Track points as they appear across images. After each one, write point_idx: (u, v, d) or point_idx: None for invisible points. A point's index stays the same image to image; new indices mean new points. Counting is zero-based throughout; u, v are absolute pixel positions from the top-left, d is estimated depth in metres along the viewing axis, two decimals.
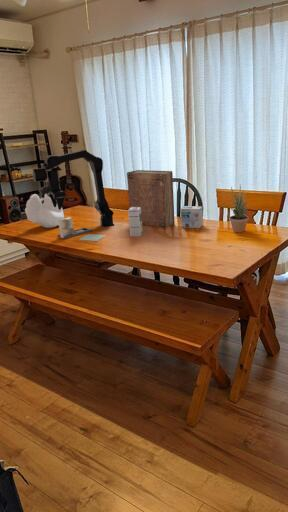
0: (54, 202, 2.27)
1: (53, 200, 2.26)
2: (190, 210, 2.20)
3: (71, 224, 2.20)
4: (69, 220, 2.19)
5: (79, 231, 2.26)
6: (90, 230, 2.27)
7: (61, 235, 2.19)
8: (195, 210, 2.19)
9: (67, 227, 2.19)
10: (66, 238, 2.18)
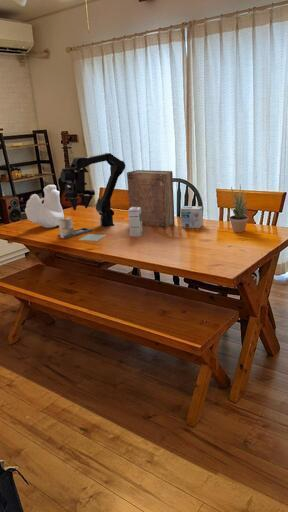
0: (85, 203, 2.30)
1: (85, 201, 2.30)
2: (190, 210, 2.20)
3: (71, 224, 2.20)
4: (69, 220, 2.19)
5: (79, 231, 2.26)
6: (90, 230, 2.27)
7: (61, 235, 2.19)
8: (195, 210, 2.19)
9: (67, 227, 2.19)
10: (66, 238, 2.18)
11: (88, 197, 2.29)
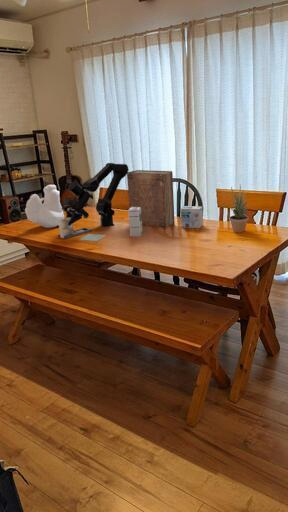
0: None
1: None
2: (190, 210, 2.20)
3: (71, 224, 2.20)
4: (69, 220, 2.19)
5: (79, 231, 2.26)
6: (90, 230, 2.27)
7: (61, 235, 2.19)
8: (195, 210, 2.19)
9: (67, 227, 2.19)
10: (66, 238, 2.18)
11: None
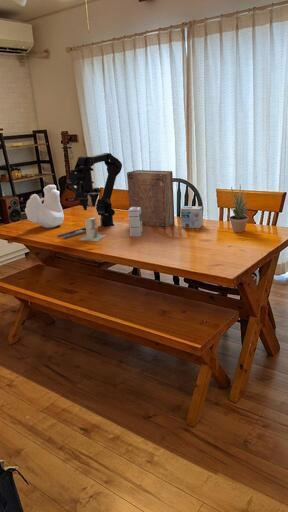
0: (93, 202, 2.29)
1: (92, 200, 2.29)
2: (190, 210, 2.20)
3: (96, 224, 2.16)
4: (94, 220, 2.14)
5: (79, 231, 2.26)
6: None
7: (88, 236, 2.13)
8: (195, 210, 2.19)
9: (94, 227, 2.14)
10: (66, 238, 2.18)
11: (95, 195, 2.28)
